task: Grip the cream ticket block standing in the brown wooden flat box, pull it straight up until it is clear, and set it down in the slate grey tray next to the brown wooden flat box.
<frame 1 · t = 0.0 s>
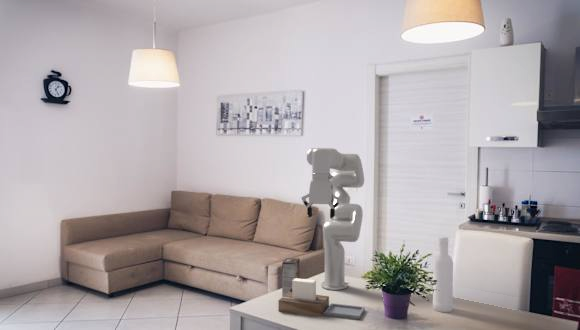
hand: (320, 217, 205), 37 cm above the table, tool pointing down, fingers open, 9 cm apart
end ticket: (304, 309, 198), resting in brown wooden flat box
bottle: (442, 309, 198), on the table
grey tray: (344, 313, 193), on the table
coffee box: (291, 296, 216), on the table
brown wooden flat box: (304, 308, 198), on the table
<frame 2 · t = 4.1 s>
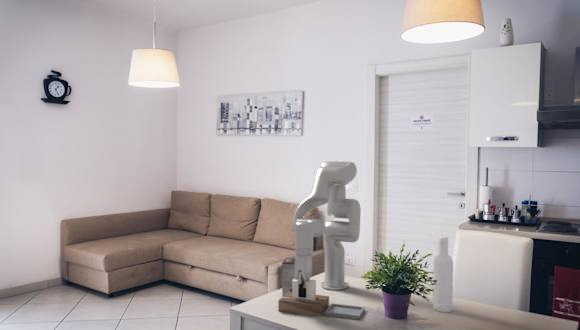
hand: (304, 295, 198), 6 cm above the table, tool pointing down, fingers closed on end ticket, 4 cm apart
end ticket: (304, 309, 198), resting in brown wooden flat box, touching gripper
everything else where it was.
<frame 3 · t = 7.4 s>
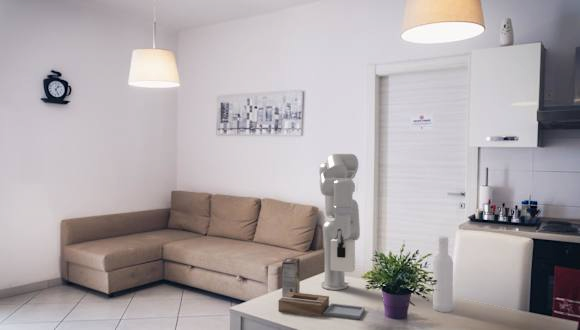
hand: (342, 255, 192), 23 cm above the table, tool pointing down, fingers closed on end ticket, 4 cm apart
end ticket: (342, 270, 193), point 17 cm above the table, touching gripper
everything else where it was.
when the fingers open (8 cm above the table, at t = 11.1 s): end ticket drops 2 cm, resting on grey tray.
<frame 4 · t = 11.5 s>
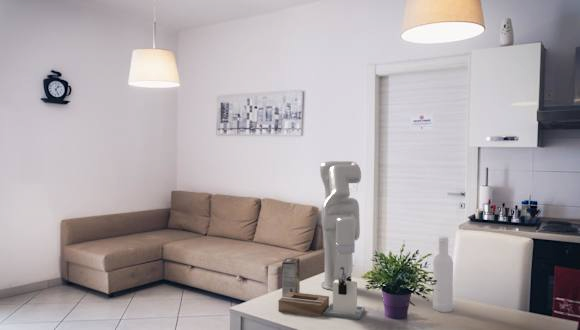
hand: (344, 291, 193), 9 cm above the table, tool pointing down, fingers open, 8 cm apart
end ticket: (344, 311, 193), point 1 cm above the table, touching grey tray
everything else where it was.
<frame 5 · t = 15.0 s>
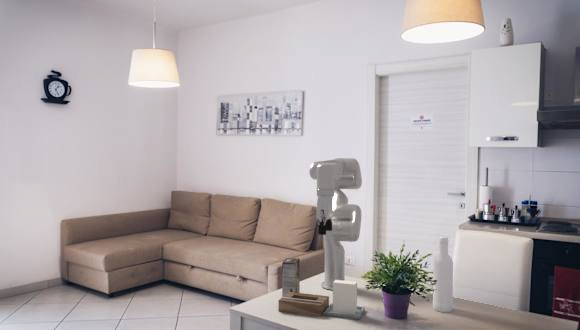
hand: (325, 232, 205), 30 cm above the table, tool pointing down, fingers open, 9 cm apart
nothing on the table moved.
at the end: end ticket 0.0 cm off-centre on the grey tray, point 0.6 cm above the grey tray's base; the gripper is holding nothing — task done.
